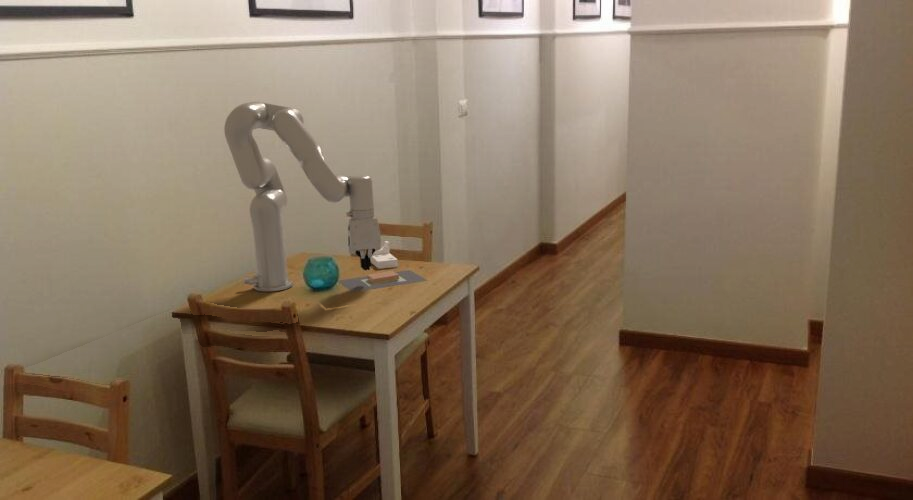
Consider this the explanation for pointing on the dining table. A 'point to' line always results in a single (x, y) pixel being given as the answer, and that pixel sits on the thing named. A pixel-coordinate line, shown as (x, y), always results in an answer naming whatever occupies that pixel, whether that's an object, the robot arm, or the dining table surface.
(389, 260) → the bracket
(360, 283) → the mat
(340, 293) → the dining table surface
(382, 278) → the tile
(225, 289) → the dining table surface
